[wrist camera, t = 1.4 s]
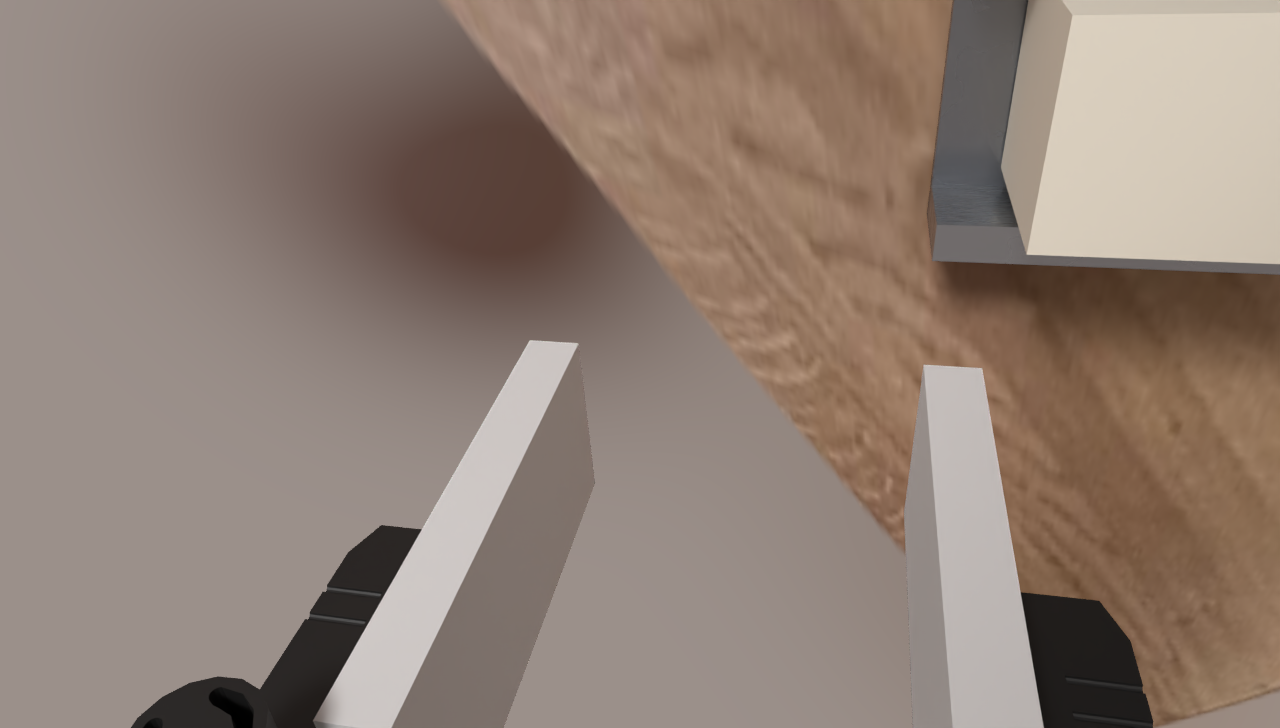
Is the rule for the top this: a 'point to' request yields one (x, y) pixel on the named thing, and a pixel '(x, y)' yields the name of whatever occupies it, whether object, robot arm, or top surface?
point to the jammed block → (1147, 130)
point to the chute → (996, 151)
